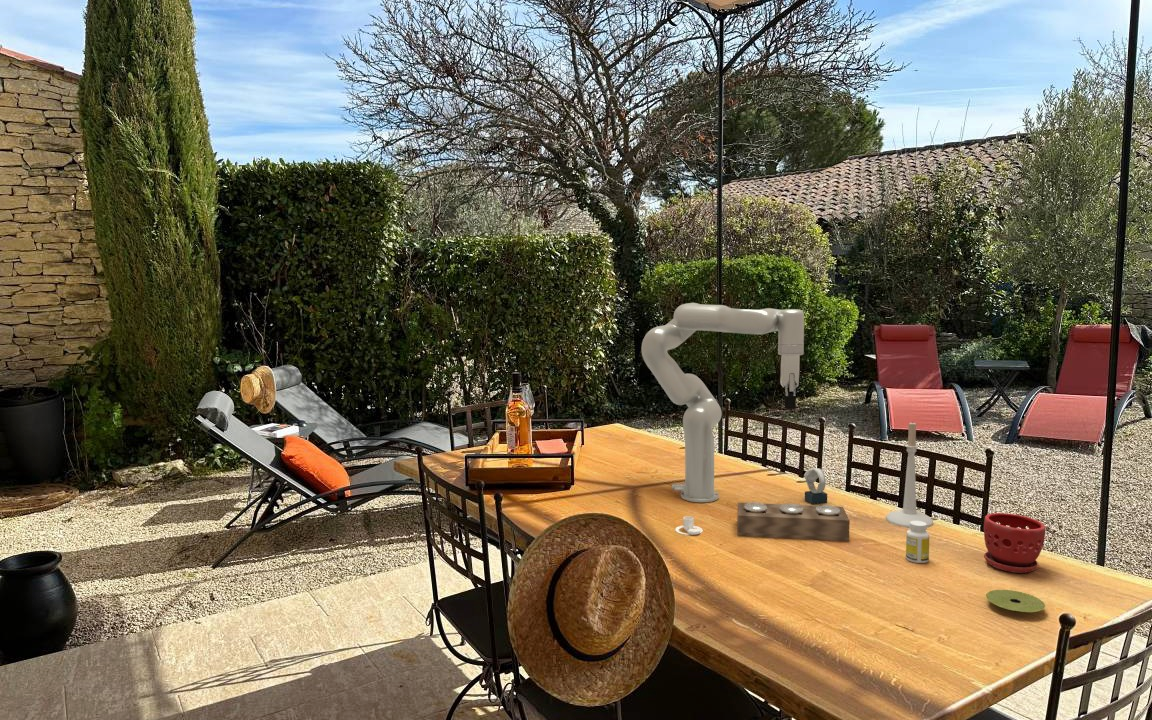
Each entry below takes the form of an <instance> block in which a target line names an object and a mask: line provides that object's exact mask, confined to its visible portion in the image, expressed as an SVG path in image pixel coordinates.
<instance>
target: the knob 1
mask: <svg viewBox="0 0 1152 720" xmlns="http://www.w3.org/2000/svg"><path fill="white" fill-rule="evenodd" d="M745 503H746V504H745V505H744V509H745V510H746V511H748V512H751V513H763V512H765V511H767V506H766V505H765V504H766V503H761V502H745Z"/></svg>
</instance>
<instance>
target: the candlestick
mask: <svg viewBox="0 0 1152 720" xmlns="http://www.w3.org/2000/svg"><path fill="white" fill-rule="evenodd" d="M907 433H908V435H907V436H908V437H907V444H904V446H905V447H906V452H907V453H908V454H907V462H906V472H905V484H904V493H903V494H904V496H903V504H902V506H903V507H902V509H897V510H893V511H890V512H889V513H887V514H886V515H885V520H886V521H887V522H888V523H889V524H892V525H894V526H897V525H898V527H901V526H902V527H903V528H908V529H911V528H910V522H911V521H922V522H925V523H926V524H927V528H930V527H932V526H933V525H934V520H933V519H932V517H930V516H929V515H927V514H926V513H922V512H920V511H918V510H917V495H916V494H917V492H916V489H917V487H916V458H915V454H916V452H917V448H918V447H919V445H917V444H916V440H917V439H916V438H917V435H916V434H917V423H916V422H913V421H912V422H908V432H907ZM902 527H901V528H902Z"/></svg>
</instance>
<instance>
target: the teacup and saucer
mask: <svg viewBox="0 0 1152 720" xmlns="http://www.w3.org/2000/svg"><path fill="white" fill-rule="evenodd" d="M682 523H683V525H679V526H677V527H675V529H674V530H675V532H676V533H677V534H680V535H686V536H695V535H699V534H701V533H703V528H702V527H700V526H697V525H695V518H694V517H693V516H688V515H687V516H684V517H682ZM682 528H683V529H684V531H685V532H687V533H685V532H682V531H681V530H680V529H682Z"/></svg>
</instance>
